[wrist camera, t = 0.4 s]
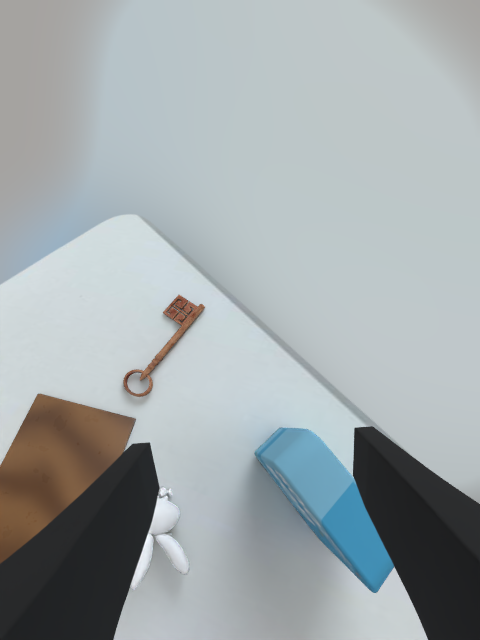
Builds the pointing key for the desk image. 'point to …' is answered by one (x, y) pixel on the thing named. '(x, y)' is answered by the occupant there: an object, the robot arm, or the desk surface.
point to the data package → (327, 501)
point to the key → (172, 341)
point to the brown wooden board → (54, 464)
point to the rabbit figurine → (162, 539)
